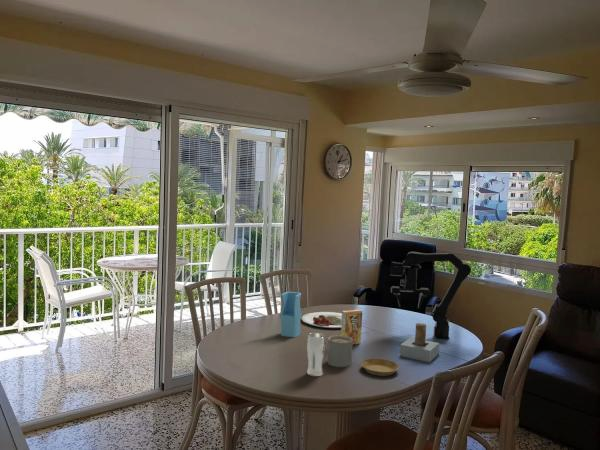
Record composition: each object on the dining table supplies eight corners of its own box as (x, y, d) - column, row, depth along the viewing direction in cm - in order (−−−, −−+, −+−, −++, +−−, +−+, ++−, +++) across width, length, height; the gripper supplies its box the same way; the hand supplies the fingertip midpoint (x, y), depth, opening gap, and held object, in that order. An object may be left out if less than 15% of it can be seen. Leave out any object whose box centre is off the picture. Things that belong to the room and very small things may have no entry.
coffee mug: (343, 369, 191) (344, 344, 190) (322, 363, 197) (323, 338, 196) (360, 360, 201) (361, 337, 201) (340, 354, 207) (341, 332, 207)
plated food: (360, 318, 271) (360, 312, 270) (353, 333, 241) (354, 326, 241) (307, 313, 277) (308, 307, 277) (295, 327, 248) (295, 320, 248)
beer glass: (305, 370, 188) (306, 332, 187) (322, 370, 189) (324, 332, 188) (306, 376, 181) (308, 337, 180) (325, 377, 182) (326, 337, 181)
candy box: (356, 341, 227) (357, 309, 226) (361, 343, 224) (362, 311, 222) (340, 343, 223) (341, 310, 222) (344, 345, 220) (346, 312, 219)
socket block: (410, 348, 220) (410, 337, 220) (438, 354, 213) (439, 343, 213) (399, 355, 209) (400, 344, 209) (429, 362, 202) (430, 350, 202)
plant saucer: (372, 361, 201) (373, 355, 201) (405, 371, 192) (405, 364, 192) (353, 371, 190) (353, 364, 189) (386, 381, 180) (387, 374, 180)
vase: (279, 335, 232) (281, 294, 230) (286, 331, 239) (287, 291, 238) (294, 337, 229) (296, 296, 228) (300, 333, 236) (302, 293, 235)
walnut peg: (420, 351, 214) (422, 322, 213) (426, 355, 210) (428, 325, 209) (412, 352, 212) (413, 323, 211) (418, 355, 208) (419, 326, 207)
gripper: (427, 275, 249) (425, 305, 250) (390, 273, 251) (389, 303, 252) (431, 279, 238) (429, 310, 239) (392, 277, 239) (391, 308, 241)
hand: (409, 307), depth 243 cm, fingers open, 9 cm apart
